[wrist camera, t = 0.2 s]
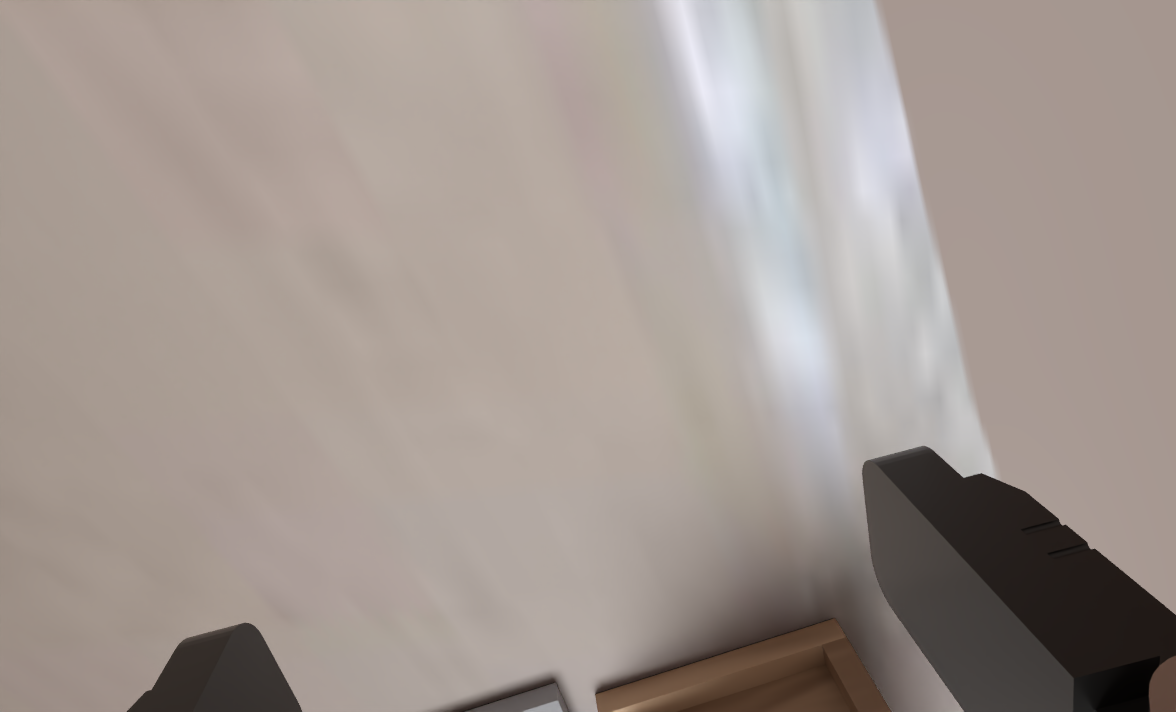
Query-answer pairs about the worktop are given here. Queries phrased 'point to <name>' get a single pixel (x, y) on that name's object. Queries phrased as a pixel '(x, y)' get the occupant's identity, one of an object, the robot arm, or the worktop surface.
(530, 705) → the slate mat
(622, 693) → the rack
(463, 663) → the worktop surface
